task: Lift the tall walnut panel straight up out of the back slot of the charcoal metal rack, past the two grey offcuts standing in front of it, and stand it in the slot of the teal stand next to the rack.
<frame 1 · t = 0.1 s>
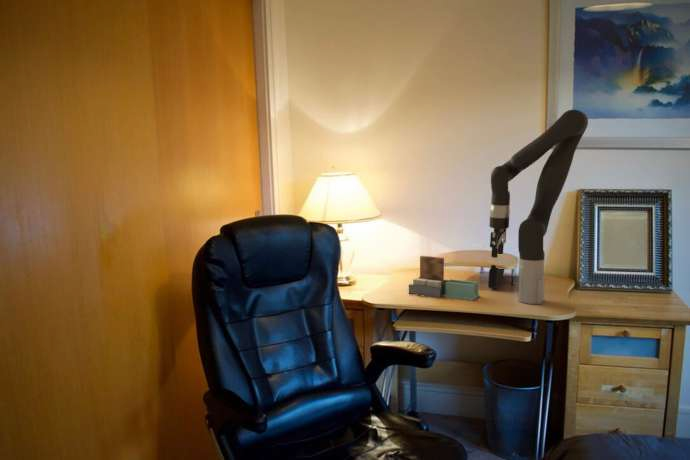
hand: (497, 255, 209), 17 cm above the table, fingers open, 8 cm apart
offcut rack: (428, 293, 219), on the table
panel stand: (461, 296, 213), on the table
offcut 1: (420, 290, 219), point 1 cm above the table, touching offcut rack
walnut panel: (431, 289, 222), point 1 cm above the table, touching offcut rack
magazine: (496, 282, 235), on the table
offcut 2: (433, 292, 216), point 1 cm above the table, touching offcut rack
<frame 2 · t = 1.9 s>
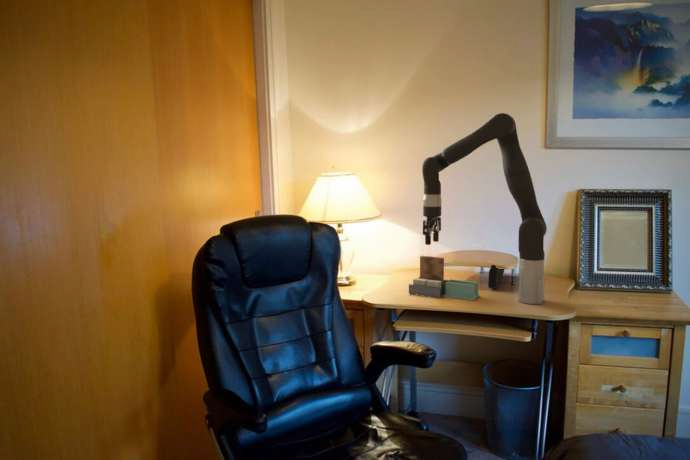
hand: (432, 243, 219), 21 cm above the table, fingers open, 8 cm apart
nothing on the table moved.
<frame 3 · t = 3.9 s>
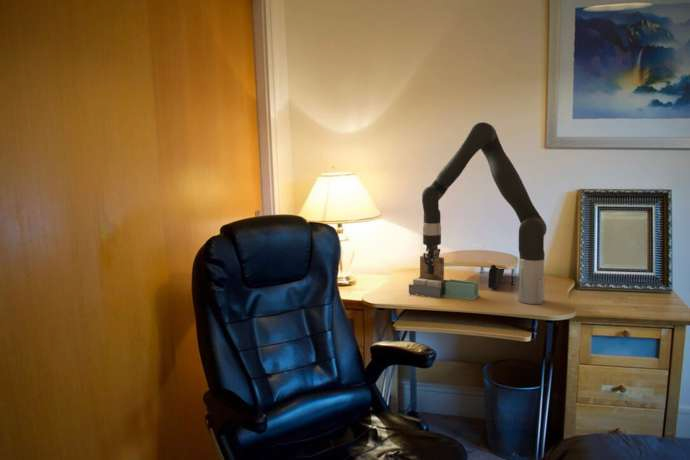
hand: (431, 273, 221), 8 cm above the table, fingers closed on walnut panel, 2 cm apart
walnut panel: (431, 289, 222), point 1 cm above the table, touching gripper, offcut rack
everything else where it was.
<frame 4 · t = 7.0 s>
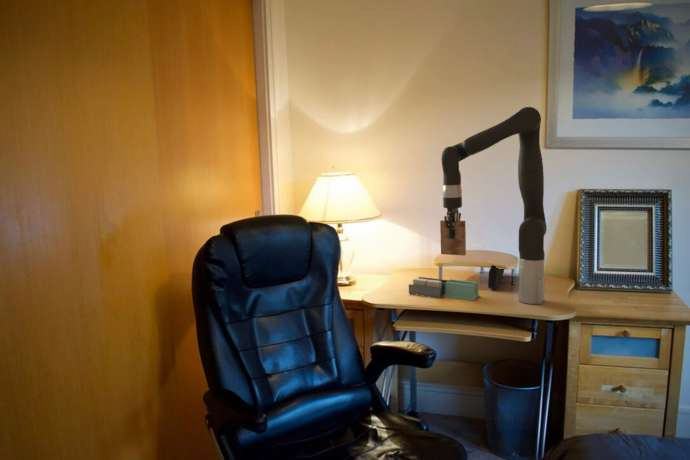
hand: (453, 237, 212), 24 cm above the table, fingers closed on walnut panel
walnut panel: (453, 254, 213), point 17 cm above the table, touching gripper
everything else where it was.
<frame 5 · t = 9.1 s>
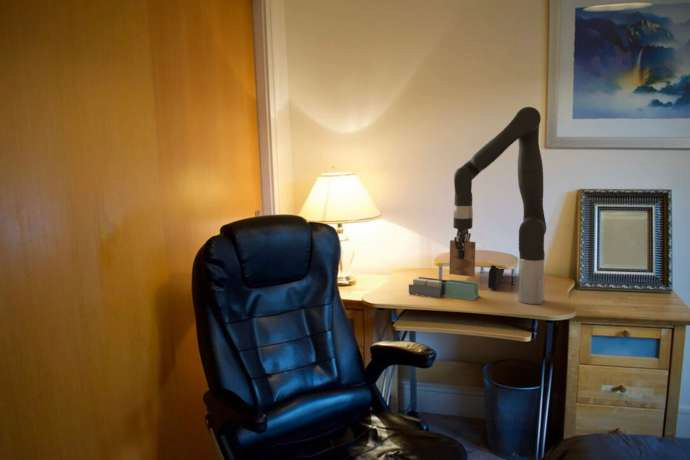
hand: (462, 258, 211), 16 cm above the table, fingers closed on walnut panel
walnut panel: (461, 274, 212), point 9 cm above the table, touching gripper
everything else where it was.
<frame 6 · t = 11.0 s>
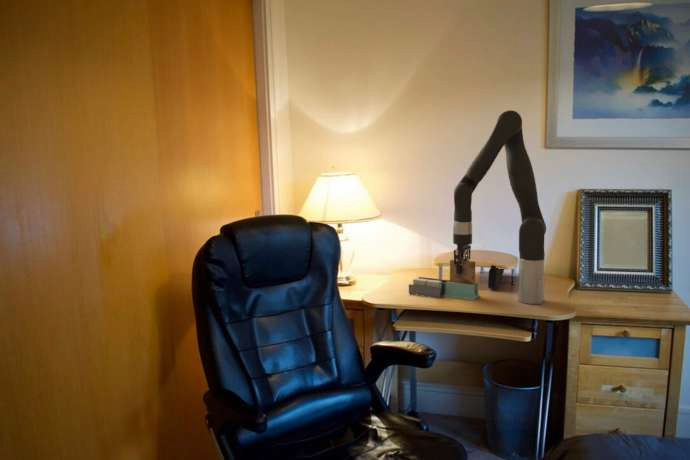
hand: (462, 272, 212), 10 cm above the table, fingers open, 6 cm apart
walnut panel: (462, 294, 213), point 1 cm above the table, touching panel stand
everything else where it was.
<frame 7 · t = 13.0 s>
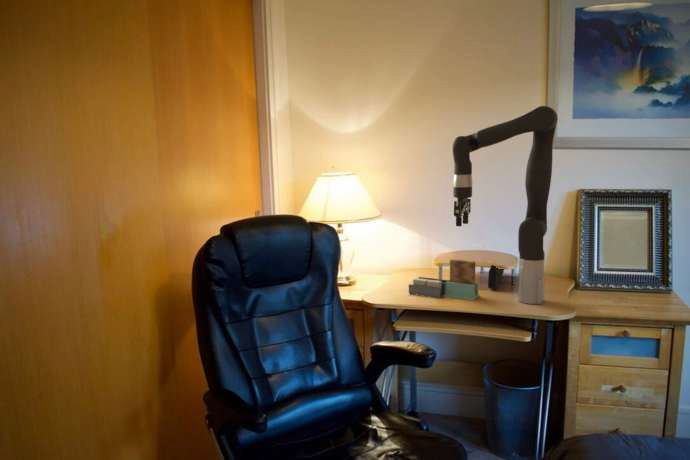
hand: (462, 225, 213), 29 cm above the table, fingers open, 8 cm apart
nothing on the table moved.
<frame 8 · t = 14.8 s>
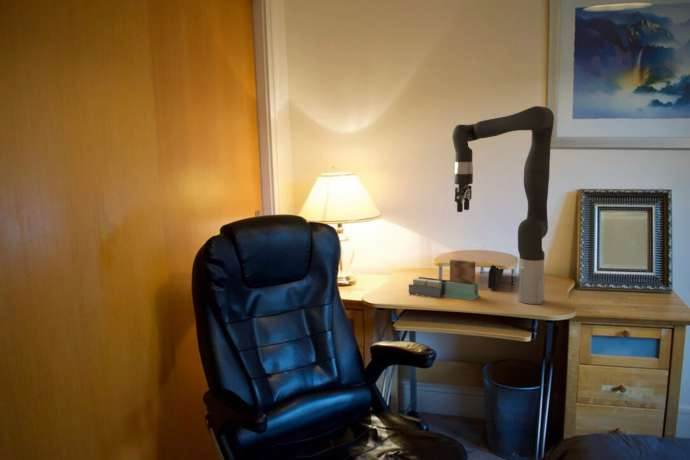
hand: (463, 210, 220), 34 cm above the table, fingers open, 8 cm apart
nothing on the table moved.
at the end: walnut panel 0.2 cm off-centre on the panel stand, point 1.0 cm above the panel stand's base; walnut panel tilted 0°; the gripper is holding nothing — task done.
